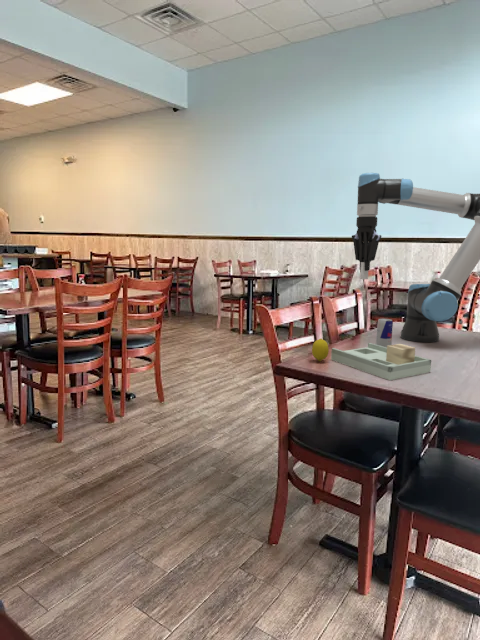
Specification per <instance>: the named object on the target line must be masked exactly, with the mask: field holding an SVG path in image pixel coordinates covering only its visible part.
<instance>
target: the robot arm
mask: <svg viewBox="0 0 480 640" xmlns="http://www.w3.org/2000/svg"><path fill="white" fill-rule="evenodd" d="M356 204H357V206H356V210H357V211H356V215H357V217H356V224H355V225H356V228H357V230H356V233H355V234H352V235H351V240H352V242H353V248H354V256H355V261H358V262H359V270H360V273H359V275H360V276H359V280H369V271H370V269H371V262H372V261H375V259H376V255H377V252H378V247H379V244H380V241H381V238H382V235H381V234H378V233H377V230H376V229H377V228H376V227H377V226H378V217H377V216H378V215H379V214H378V213H379V204H383V205H384V204H391V205H397V206H404V207H405V206H406V207H410V208H417V209H422V210H428V211H435V212H440V213H441V212H442V213H447V214H448V213H449V214H453V215H458V217H459V218H462V219H467V220H472V221H474V225H473V226H472V228H471V229H470V230H469V232H468V234H467V235H466V237H464V238H465V239H464V240H463V241H462V243H461V244H460V246H459V248H458V249H457V250H456V252H455V253H454V254H453V256H452V258H451V260H450V261H449V262H448V264H447V266H446V267H445V269H444V270H443V271H442V274H441V275H440V276H439V277H438V278H436V279H432V281H431V282H430V283H413V284H410V285H409V286H408V291H407V302H406V303H407V304H406V305H407V306H406V319H405V321H404V324H403V326H402V329H401V331H400V338H401V339H403V340H406V341H411V342H417V343H419V342H420V343H437V342H438V341H440V333H439V328H438V323H437V322H445V321H448V320H449V319H451V318H452V317H453V316H454V315H455V314H457V313H456V312H457V311H458V307H459V305H458V301H459V299H460V298H461V296H462V293H461V288H462V287H463V286H464V284H465V283H466V282H467V280H468V279H469V277H470V275H471V274H472V272H473V271H474V270H475V267H477V264H478V263H479V262H480V193H472V192H471V193H470V192H466V193H464V194H459V193H455V192H454V193H453V192H447V191H439V190H434V189H427V188H422V187H415V186H414V183H413V181H412V180H411V179H410V178H381V176H380V173H378V172H365V173H360V175H359V177H358V185H357V203H356Z"/></svg>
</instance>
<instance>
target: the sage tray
mask: <svg viewBox="0 0 480 640" xmlns="http://www.w3.org/2000/svg"><path fill="white" fill-rule="evenodd" d="M386 355H387V348H386V347H383V346H379V345H376V343H372V342H369V343H367V346H366V347H361V348H354V349H347V350H341V349H338V348H335V347H332V348H331V355H330V357H331V358H330V360H331V361H334V362H336V361H337V363H340V364H343V365H345V366H348V367H350V366H351V367H350V368H353V369H357V370H359V371H362V372H364V373H367V374H370V375H373V376H377V377H378V378H382V379H385V380H388V381H395V380H399V379H403V378H408V377H413V376H418V375H423V374H428V373H431V371H432V370H431V367H432V359H429V358H425V357H422V356H419V355H415V359H414V362H410V363H405V364H399V365H398V364H395V363H391V362H388V361H386Z"/></svg>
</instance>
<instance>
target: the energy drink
mask: <svg viewBox="0 0 480 640" xmlns="http://www.w3.org/2000/svg"><path fill="white" fill-rule="evenodd" d="M393 324H394V321H393V319H389V318H378V320H377V325H376V326H377V327H376V338H375V339H376V340H375V344H376V345H379V346H383V347H386V348H387V346H388V345H392V339H393V338H392V337H393V327H394V325H393Z"/></svg>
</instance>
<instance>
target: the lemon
mask: <svg viewBox="0 0 480 640" xmlns="http://www.w3.org/2000/svg"><path fill="white" fill-rule="evenodd" d="M329 351H330V350H329V345H328V342H327V341H326V340H324V339H322V338H319V339H316V340H315V341H314V342H313V344H312V348H311V354H312V356H313V358H314V359H315V360H317V362H321V361H323V360H325V359H326V358H327V357H328V356H329Z"/></svg>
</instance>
